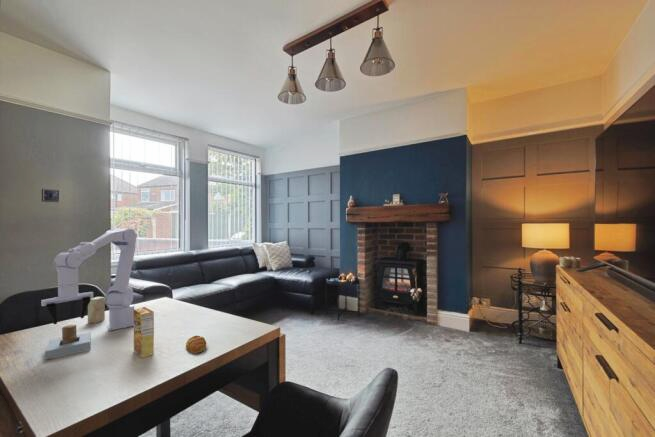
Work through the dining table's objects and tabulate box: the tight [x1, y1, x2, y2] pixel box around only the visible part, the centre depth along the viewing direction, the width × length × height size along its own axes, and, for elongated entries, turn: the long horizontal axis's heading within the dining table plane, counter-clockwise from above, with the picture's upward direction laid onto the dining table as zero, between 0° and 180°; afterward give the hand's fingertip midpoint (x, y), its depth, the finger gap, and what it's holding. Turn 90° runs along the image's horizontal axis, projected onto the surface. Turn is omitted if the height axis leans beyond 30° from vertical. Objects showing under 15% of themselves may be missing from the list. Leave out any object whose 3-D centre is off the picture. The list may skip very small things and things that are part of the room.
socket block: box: [44, 332, 92, 361], centre depth 109 cm, size 12×12×3 cm
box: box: [87, 296, 106, 324], centre depth 139 cm, size 5×4×11 cm
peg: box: [61, 324, 78, 345], centre depth 109 cm, size 4×4×8 cm
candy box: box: [133, 306, 155, 359], centre depth 105 cm, size 9×4×15 cm, turn 50°
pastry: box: [185, 335, 207, 355], centre depth 107 cm, size 9×7×4 cm
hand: (68, 320), depth 109 cm, fingers open, 7 cm apart
